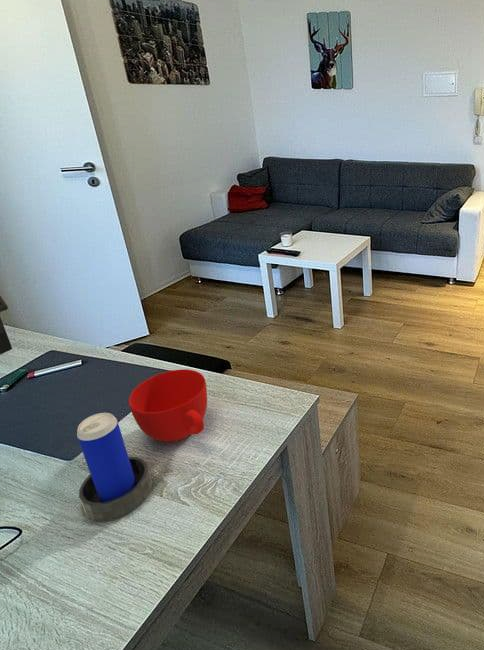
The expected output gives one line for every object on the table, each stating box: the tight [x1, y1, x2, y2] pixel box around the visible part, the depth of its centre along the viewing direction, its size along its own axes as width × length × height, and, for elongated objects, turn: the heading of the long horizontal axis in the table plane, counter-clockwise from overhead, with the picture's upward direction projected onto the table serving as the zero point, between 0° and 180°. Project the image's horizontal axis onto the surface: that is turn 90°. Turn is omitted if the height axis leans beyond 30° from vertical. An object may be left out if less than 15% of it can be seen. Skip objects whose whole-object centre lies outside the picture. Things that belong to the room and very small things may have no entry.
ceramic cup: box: [128, 368, 208, 443], centre depth 82 cm, size 13×17×10 cm
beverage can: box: [76, 412, 137, 503], centre depth 68 cm, size 5×5×15 cm
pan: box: [78, 456, 153, 523], centre depth 71 cm, size 9×9×4 cm
